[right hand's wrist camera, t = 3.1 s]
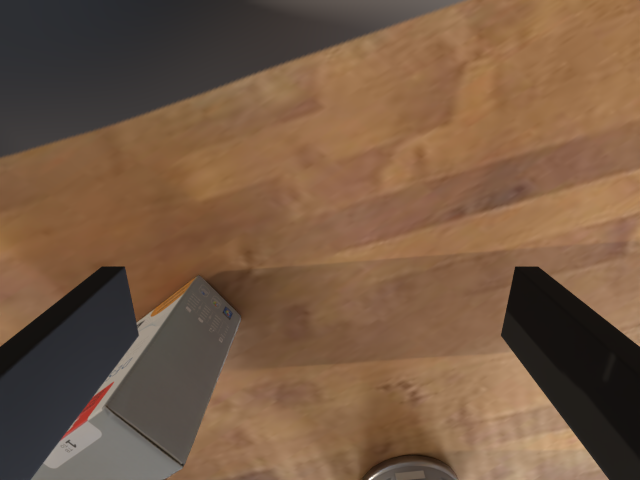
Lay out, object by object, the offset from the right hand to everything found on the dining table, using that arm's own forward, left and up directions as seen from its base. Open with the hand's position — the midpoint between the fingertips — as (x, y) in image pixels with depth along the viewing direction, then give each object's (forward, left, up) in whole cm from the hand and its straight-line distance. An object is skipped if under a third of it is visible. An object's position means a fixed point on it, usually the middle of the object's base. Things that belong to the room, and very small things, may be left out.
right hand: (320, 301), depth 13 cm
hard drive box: (-20, +18, -28) cm, 39 cm away
